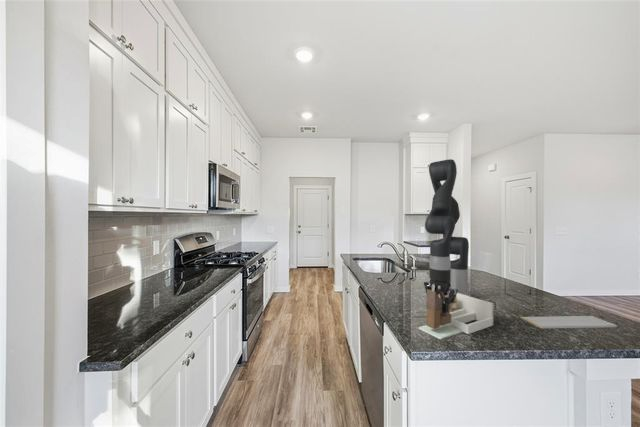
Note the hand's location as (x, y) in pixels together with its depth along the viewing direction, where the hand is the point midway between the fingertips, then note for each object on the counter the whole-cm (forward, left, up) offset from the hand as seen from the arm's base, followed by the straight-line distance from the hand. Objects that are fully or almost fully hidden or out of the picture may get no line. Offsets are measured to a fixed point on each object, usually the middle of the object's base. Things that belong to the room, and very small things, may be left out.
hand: (439, 311), depth 101 cm
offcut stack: (-15, -8, -8) cm, 19 cm away
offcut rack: (-15, -2, -8) cm, 17 cm away
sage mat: (0, 0, -8) cm, 8 cm away
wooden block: (0, 0, -5) cm, 5 cm away
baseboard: (-54, +19, -8) cm, 57 cm away
